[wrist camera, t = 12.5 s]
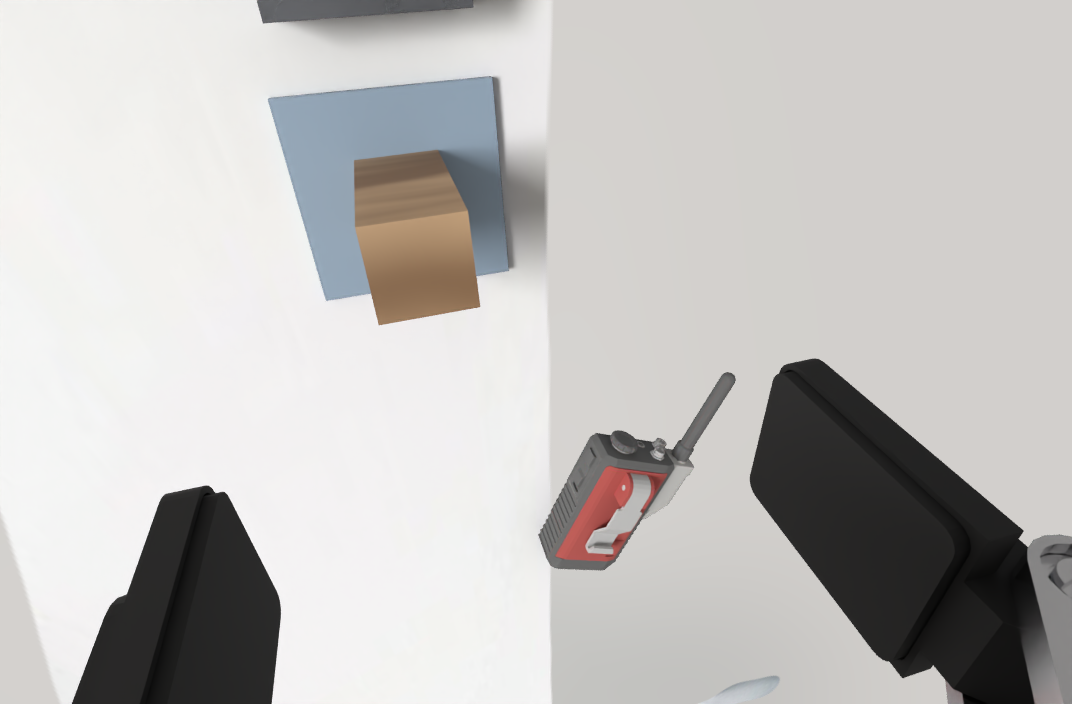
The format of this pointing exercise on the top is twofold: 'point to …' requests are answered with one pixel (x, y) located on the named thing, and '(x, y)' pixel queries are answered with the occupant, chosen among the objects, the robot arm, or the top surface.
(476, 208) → the pad
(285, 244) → the top surface
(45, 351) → the top surface
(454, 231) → the plug
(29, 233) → the top surface
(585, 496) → the walkie-talkie
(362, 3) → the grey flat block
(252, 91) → the top surface
